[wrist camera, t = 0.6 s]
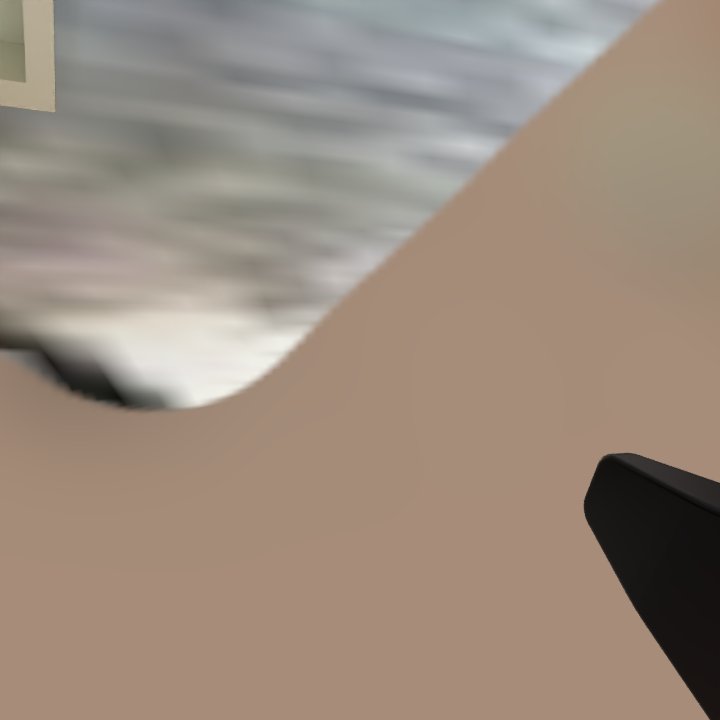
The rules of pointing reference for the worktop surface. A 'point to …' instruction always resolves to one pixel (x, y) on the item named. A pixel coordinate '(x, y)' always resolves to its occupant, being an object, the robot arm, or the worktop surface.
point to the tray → (27, 54)
